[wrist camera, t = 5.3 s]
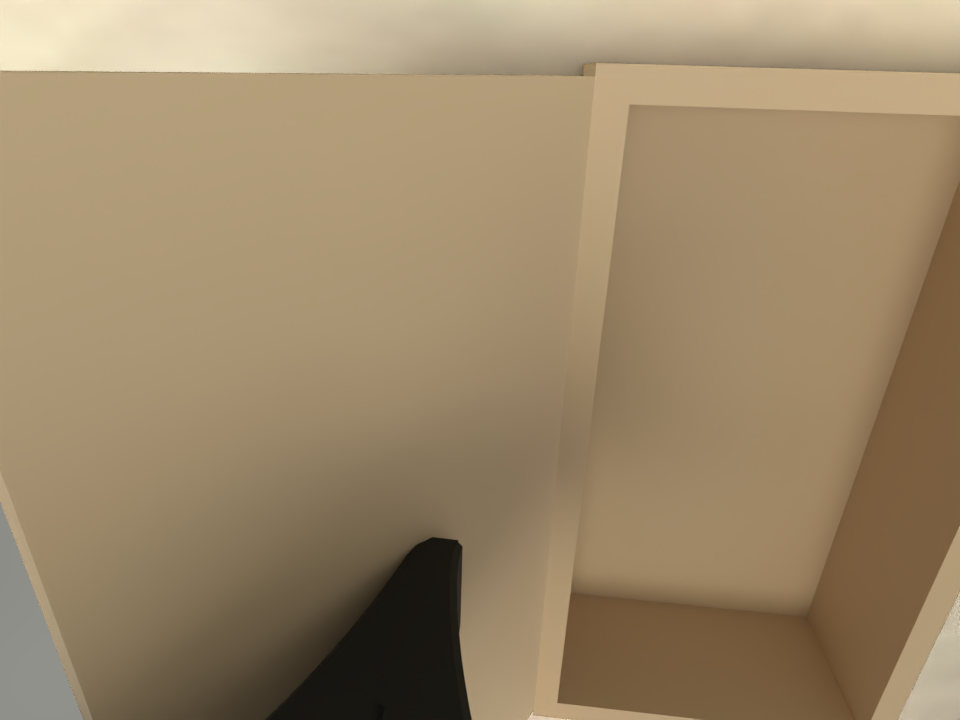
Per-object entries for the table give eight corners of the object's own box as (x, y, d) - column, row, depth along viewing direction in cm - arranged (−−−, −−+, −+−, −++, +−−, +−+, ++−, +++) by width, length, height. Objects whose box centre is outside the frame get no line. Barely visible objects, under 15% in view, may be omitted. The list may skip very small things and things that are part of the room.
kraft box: (814, 617, 20) (879, 755, 16) (536, 589, 21) (533, 715, 17) (1008, 76, 13) (1207, 81, 9) (583, 63, 14) (596, 62, 10)
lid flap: (237, 1111, 10) (220, 1083, 11) (533, 710, 17) (518, 699, 17) (-146, 71, 4) (-167, 70, 4) (595, 76, 10) (568, 75, 10)
